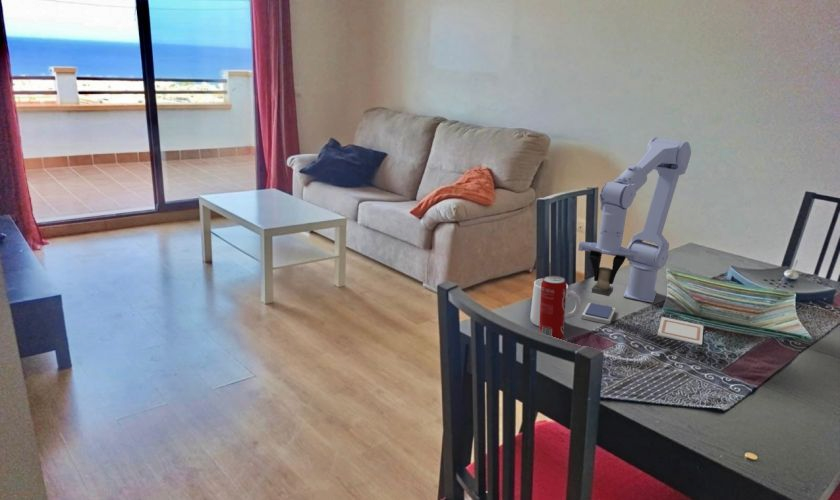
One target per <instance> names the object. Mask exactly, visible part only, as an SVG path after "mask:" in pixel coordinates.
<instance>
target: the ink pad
mask: <svg viewBox="0 0 840 500" xmlns="http://www.w3.org/2000/svg"><path fill="white" fill-rule="evenodd" d="M615 312H616V308H615V307H612V306H608V305H603V304H599V303H593V302H588V303H587V305H586V307H585V309H584V311H582V313H581V319H583V320H588V321H592V322H597V323H601V324H606V325H610V323H611V322H612V319H613V317H614V315H615Z"/></svg>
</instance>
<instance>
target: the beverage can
mask: <svg viewBox="0 0 840 500" xmlns="http://www.w3.org/2000/svg"><path fill="white" fill-rule="evenodd" d="M566 284H567V282H566V279H565V277H562V276H559V275H547V276H544V277H543V281H542V283H541V300H540V321H539V326H538V328H539V329H538V333H539V332H541V333H544V334H546V335H549V336H553V337H556V338H559V339H562V340H563V339H564V336H565V335H564V334H565V319H566V318H565V313H566V308H565V304H566V305H567V301H566V287H567V285H568V284H567V285H566Z"/></svg>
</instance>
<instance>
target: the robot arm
mask: <svg viewBox="0 0 840 500" xmlns="http://www.w3.org/2000/svg"><path fill="white" fill-rule="evenodd" d="M691 156H692V148H691V145H690V143H689V141H679V140H674V139H668V138H659V137H656V136H655V137H652V138H651V139H650V140H649V141H648V143H647V145H646V150H645V154H644V155H643V156H642V158H641V159H640V160H639V161H638V163H637V164H636V165H635V164H634V165H629V166H627V168H626V169H625V170H624V171H623V172H622V173H621V174H620V175H619V176H617V177H616V178H615V179H614V180H613V181H609V182H606V183H604V185H603V186H602V188H601V190H600V193H599V202H600V208H599V209H600V211H601V218H600V223H599V224H600V226H599V233H598V238H597V242H591V241H590V242H588V241H579V244H578V251H580V252H583V251H584V252H589V255H588V257H589V261H590V263H591V266H592V271H593V278H594V279H593V281H595V282H597V279H598V273H599V268H600V267H601V266H600V265H601V260H602V255H608V256H613V259H612V268H611V269H612V274H611V278H610V285H613V284H614V281H615V278H616V275H617V274H618V272H619V269H620V268H621V267H622V265H624V263H625V260H626V259H627V261H628V265H630V268H629V269H630V270H629V276H628V281H627V286H626V288H625V292H624V293H623V298H627V299H631V300H636V301H642V302H647V303H654V301H655V297H656V295H657V290H655V289H656V284H657V283H656V282H657V278H658V273H659V270H661V269H662V268H663V267H664V266H666V264H667V262H668V257H669V248H670V243H669V242H668V240H667V239H666V238H665V236H664V235H663V232H664V231H663V230H664V227H665V224H666V220H667V217H668V215H669V210H670V207H671V204H672V201H673V196H674V194H675V190H676V187H677V184H678V181H679V177H680V176H681V175H685V174H686V172H687V168H688V166H689V163H690V159H691ZM653 170H655V171H657V173H658V178H657V182H656V185H655V188H654V191H653V196H652V199H651V202H650V205H649V208H648V213H647V215H646V219H645V222H644V225H643V229H642V230H641V231H639V232H636V233H635V234H633V235H632V237H631V240H630V241H629V243H628V245H627V247H622V244H623V237H624V230H625V224H626V220H627V219H626V218H627V213H628V212H627V211H628V208H629V207H631V206H632V204H633V202H634V199H635V197H636V195H637V192H638V191H639V190H640V189H641V188H642V187H643V186H644V185H645V184H646V183H647V181H648V175H649V174H650V173H651V172H652V171H653ZM651 243H652V244H651Z"/></svg>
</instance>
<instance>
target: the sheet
mask: <svg viewBox="0 0 840 500" xmlns="http://www.w3.org/2000/svg"><path fill="white" fill-rule="evenodd" d="M703 334H704V325H702V324H697V323H693V322H688V321H684V320H678V319H675V318H670V317H665V316H661V319H660V322H659V328H658V330H657V335H656V336H657V337H662V338H667V339H670V340H674V341H675V340H676V341H680V342H684V343H690V344H694V345H698V346H702V345H703Z"/></svg>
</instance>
